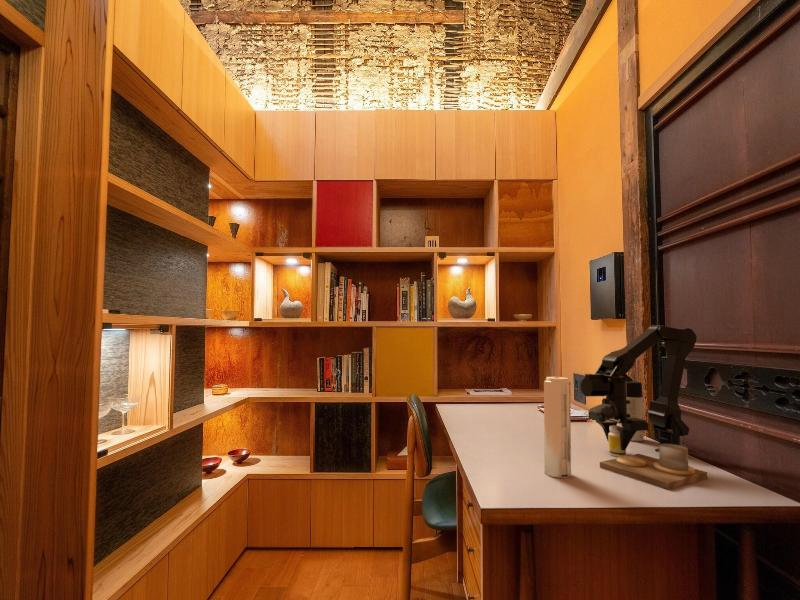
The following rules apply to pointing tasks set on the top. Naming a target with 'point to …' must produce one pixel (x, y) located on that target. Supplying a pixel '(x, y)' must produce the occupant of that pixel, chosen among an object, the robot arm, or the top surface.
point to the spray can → (635, 405)
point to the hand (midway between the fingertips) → (617, 447)
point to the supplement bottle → (615, 442)
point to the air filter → (557, 427)
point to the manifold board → (657, 467)
